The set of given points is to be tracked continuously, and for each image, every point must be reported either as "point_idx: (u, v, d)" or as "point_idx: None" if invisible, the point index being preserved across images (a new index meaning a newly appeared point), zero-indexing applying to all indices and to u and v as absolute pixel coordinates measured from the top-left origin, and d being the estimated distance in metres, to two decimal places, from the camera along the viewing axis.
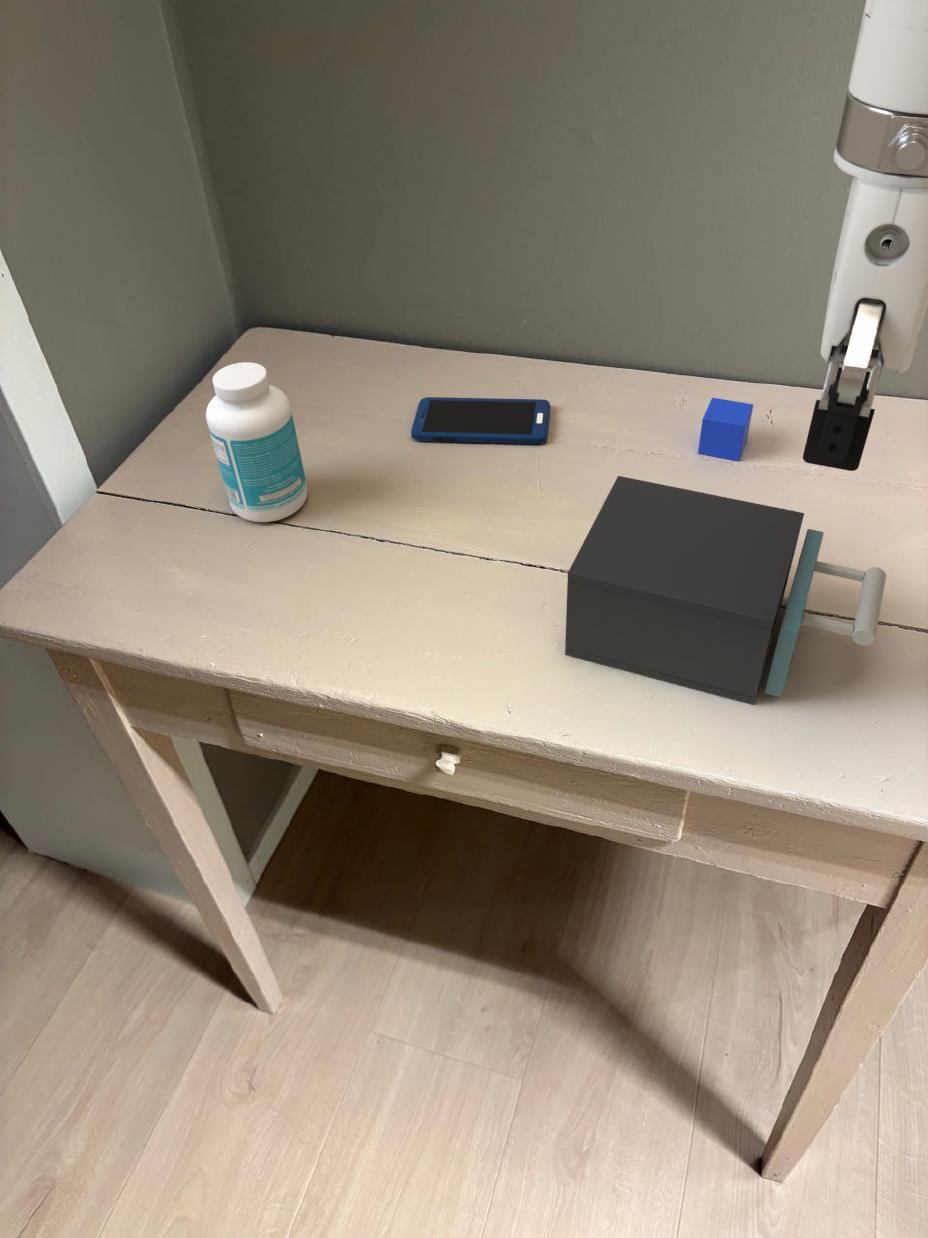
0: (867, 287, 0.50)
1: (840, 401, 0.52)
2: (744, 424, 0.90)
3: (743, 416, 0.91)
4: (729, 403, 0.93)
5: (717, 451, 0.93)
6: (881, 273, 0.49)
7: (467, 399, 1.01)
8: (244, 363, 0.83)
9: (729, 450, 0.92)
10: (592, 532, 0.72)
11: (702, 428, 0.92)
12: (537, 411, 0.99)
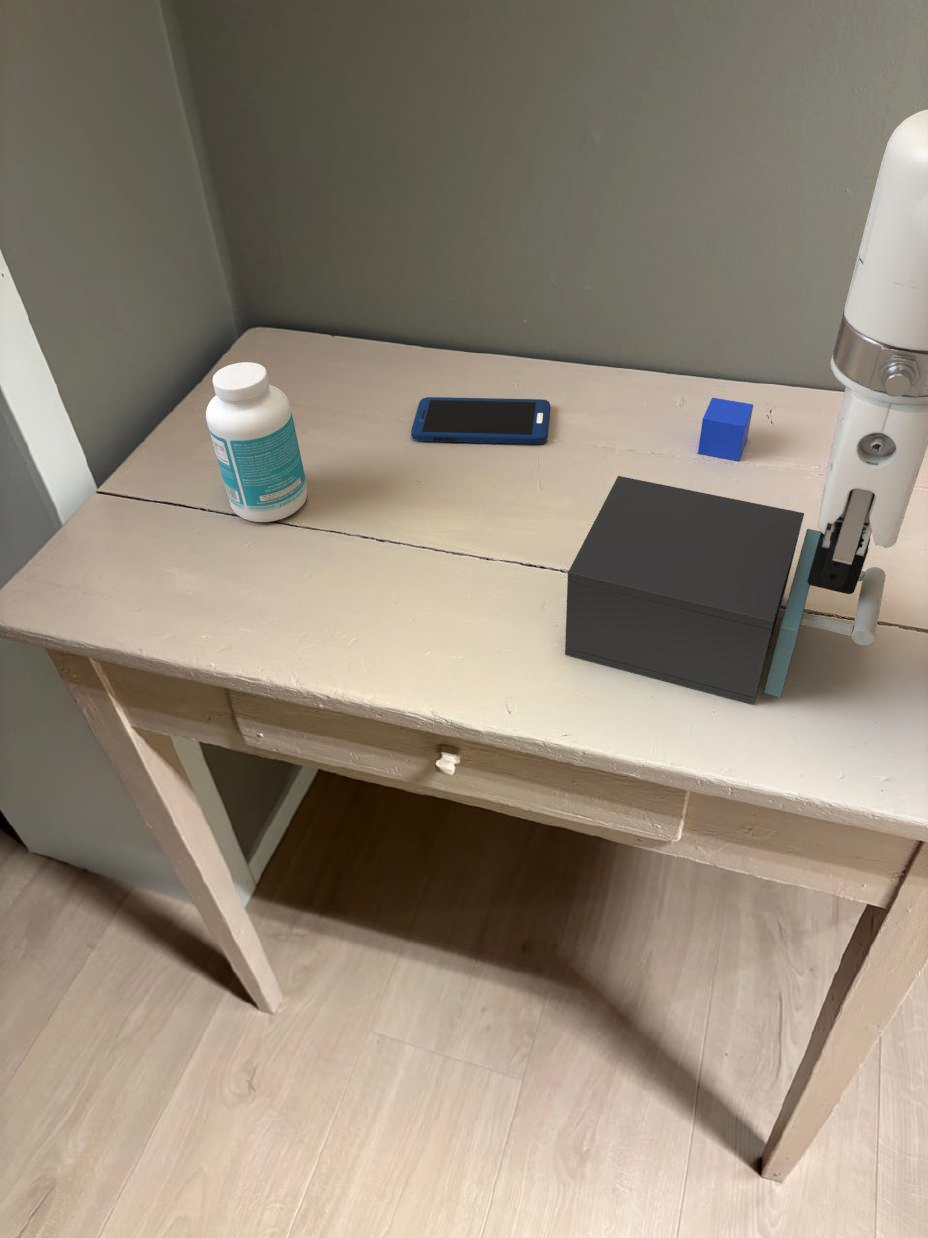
0: (859, 480, 0.57)
1: None
2: (744, 424, 0.90)
3: (743, 416, 0.91)
4: (729, 403, 0.93)
5: (717, 451, 0.93)
6: (871, 471, 0.56)
7: (467, 399, 1.01)
8: (244, 363, 0.83)
9: (729, 450, 0.92)
10: (592, 532, 0.72)
11: (702, 428, 0.92)
12: (537, 411, 0.99)
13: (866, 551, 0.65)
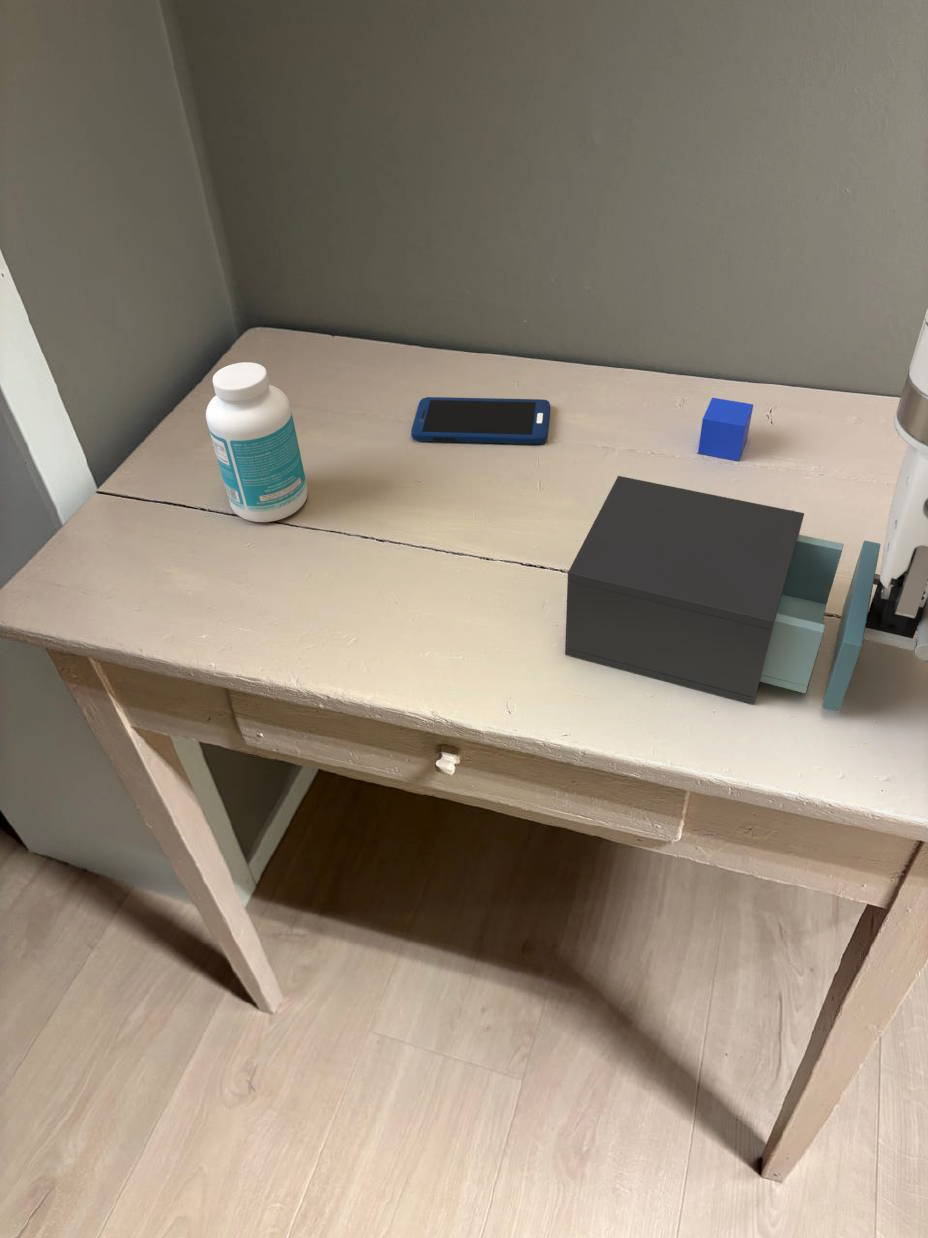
0: (924, 538, 0.57)
1: None
2: (744, 424, 0.90)
3: (743, 416, 0.91)
4: (729, 403, 0.93)
5: (717, 451, 0.93)
6: None
7: (467, 399, 1.01)
8: (244, 363, 0.83)
9: (729, 450, 0.92)
10: (592, 532, 0.72)
11: (702, 428, 0.92)
12: (537, 411, 0.99)
13: (925, 602, 0.65)
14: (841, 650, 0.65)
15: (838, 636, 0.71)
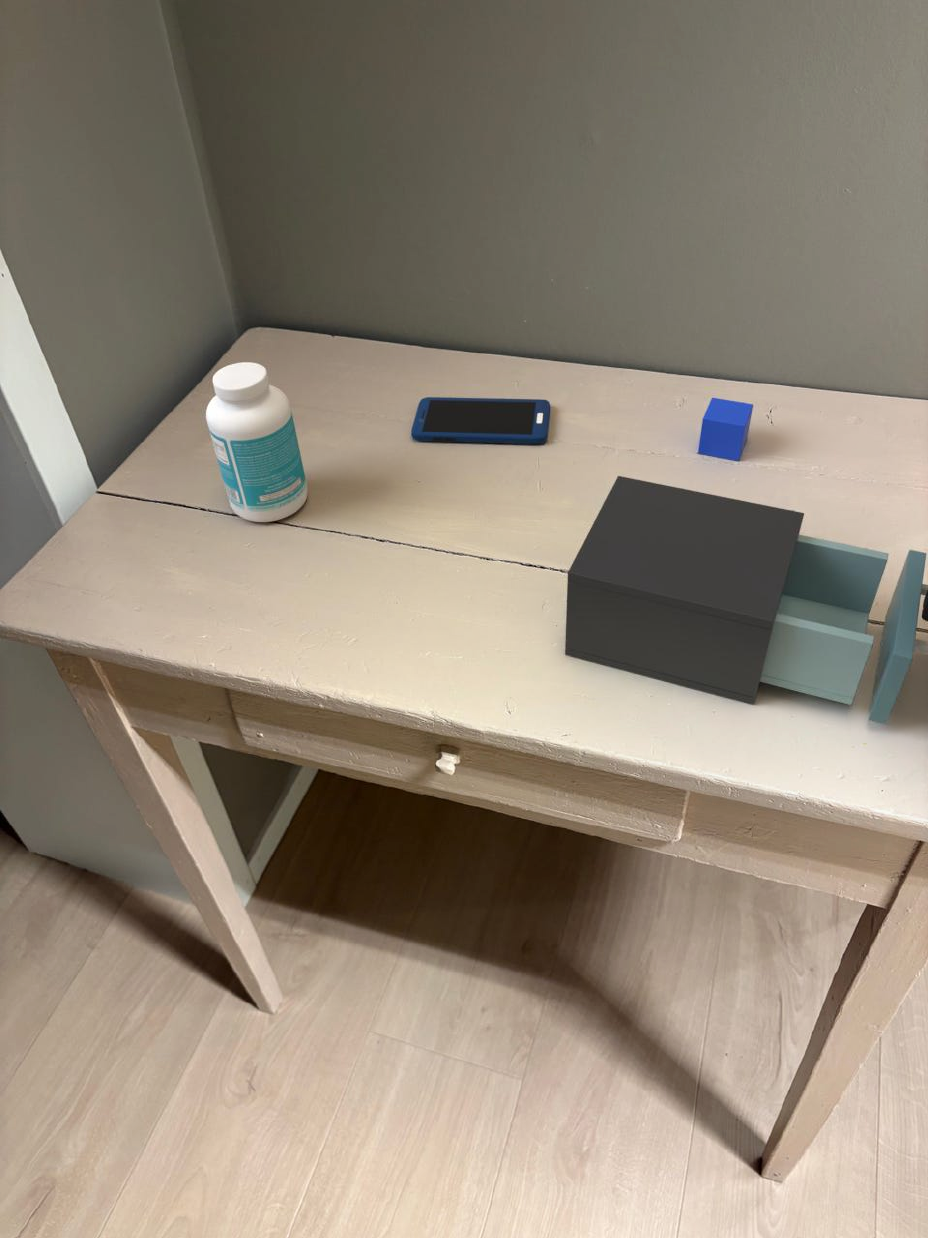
0: None
1: None
2: (744, 424, 0.90)
3: (743, 416, 0.91)
4: (729, 403, 0.93)
5: (717, 451, 0.93)
6: None
7: (467, 399, 1.01)
8: (244, 363, 0.83)
9: (729, 450, 0.92)
10: (592, 532, 0.72)
11: (702, 428, 0.92)
12: (537, 411, 0.99)
13: None
14: (891, 662, 0.64)
15: (883, 647, 0.70)
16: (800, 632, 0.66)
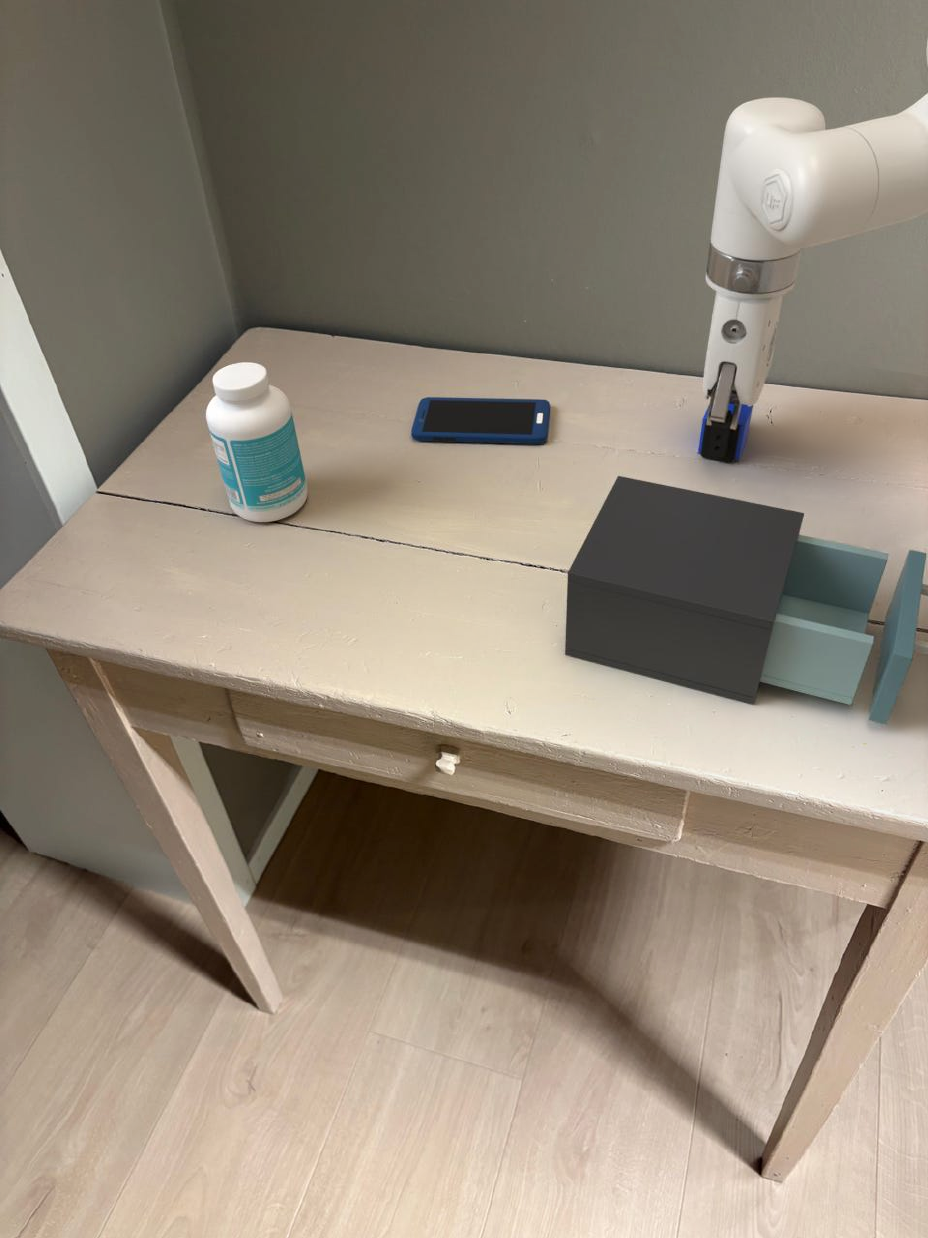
0: (724, 355, 0.83)
1: None
2: (744, 424, 0.90)
3: (743, 416, 0.91)
4: None
5: None
6: (732, 347, 0.82)
7: (467, 399, 1.01)
8: (244, 363, 0.83)
9: None
10: (592, 532, 0.72)
11: (702, 428, 0.92)
12: (537, 411, 0.99)
13: (738, 427, 0.89)
14: (891, 662, 0.64)
15: (883, 647, 0.70)
16: (800, 632, 0.66)
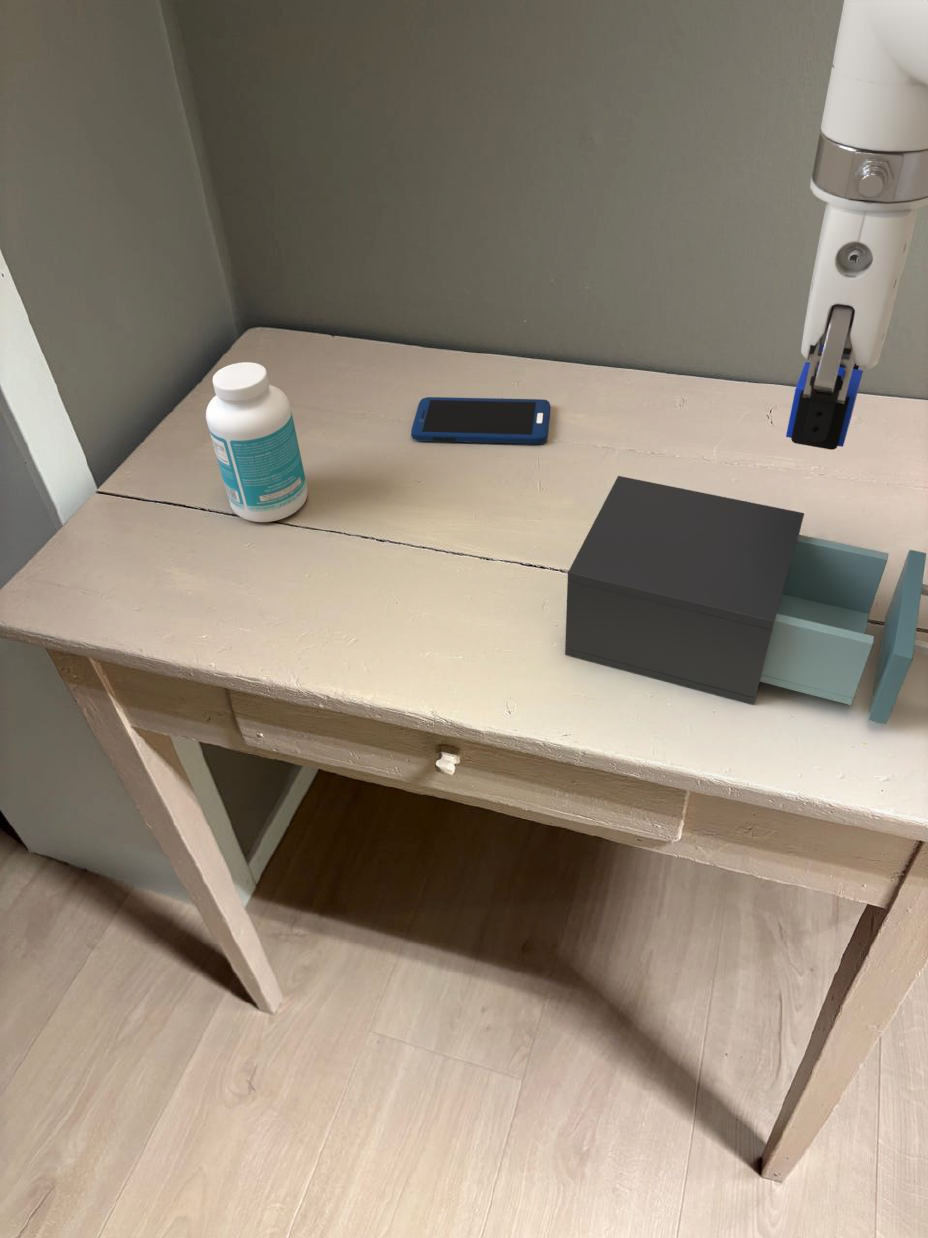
0: (838, 295, 0.59)
1: (819, 391, 0.63)
2: (854, 396, 0.66)
3: (851, 386, 0.67)
4: None
5: None
6: (850, 283, 0.58)
7: (467, 399, 1.01)
8: (244, 363, 0.83)
9: None
10: (592, 532, 0.72)
11: (794, 402, 0.68)
12: (537, 411, 0.99)
13: (847, 400, 0.65)
14: (891, 662, 0.64)
15: (883, 647, 0.70)
16: (800, 632, 0.66)
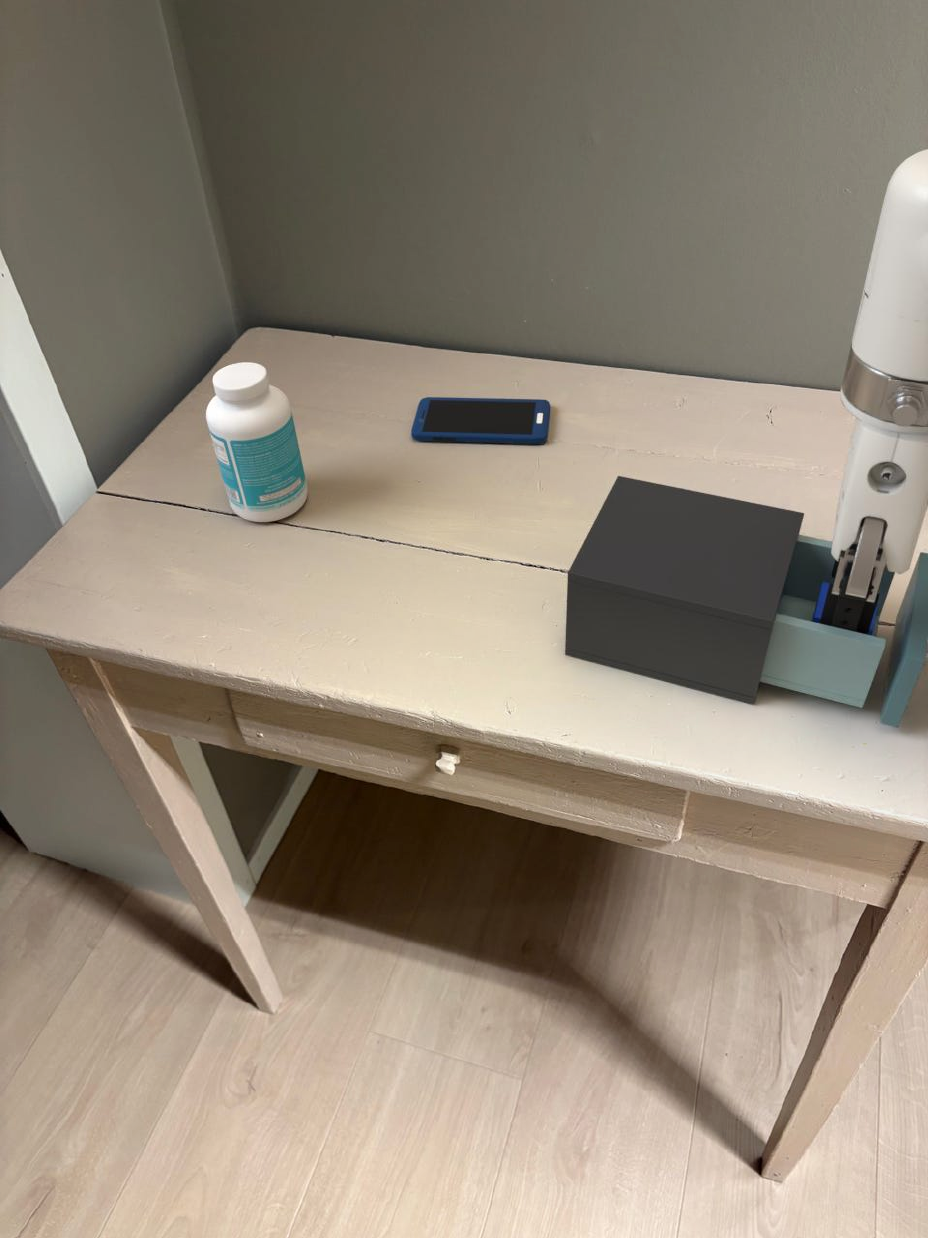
0: (870, 508, 0.58)
1: None
2: (871, 628, 0.67)
3: None
4: None
5: None
6: (882, 499, 0.57)
7: (467, 399, 1.01)
8: (244, 363, 0.83)
9: None
10: (592, 532, 0.72)
11: None
12: (537, 411, 0.99)
13: (877, 597, 0.64)
14: (903, 665, 0.63)
15: (894, 649, 0.70)
16: (812, 635, 0.66)
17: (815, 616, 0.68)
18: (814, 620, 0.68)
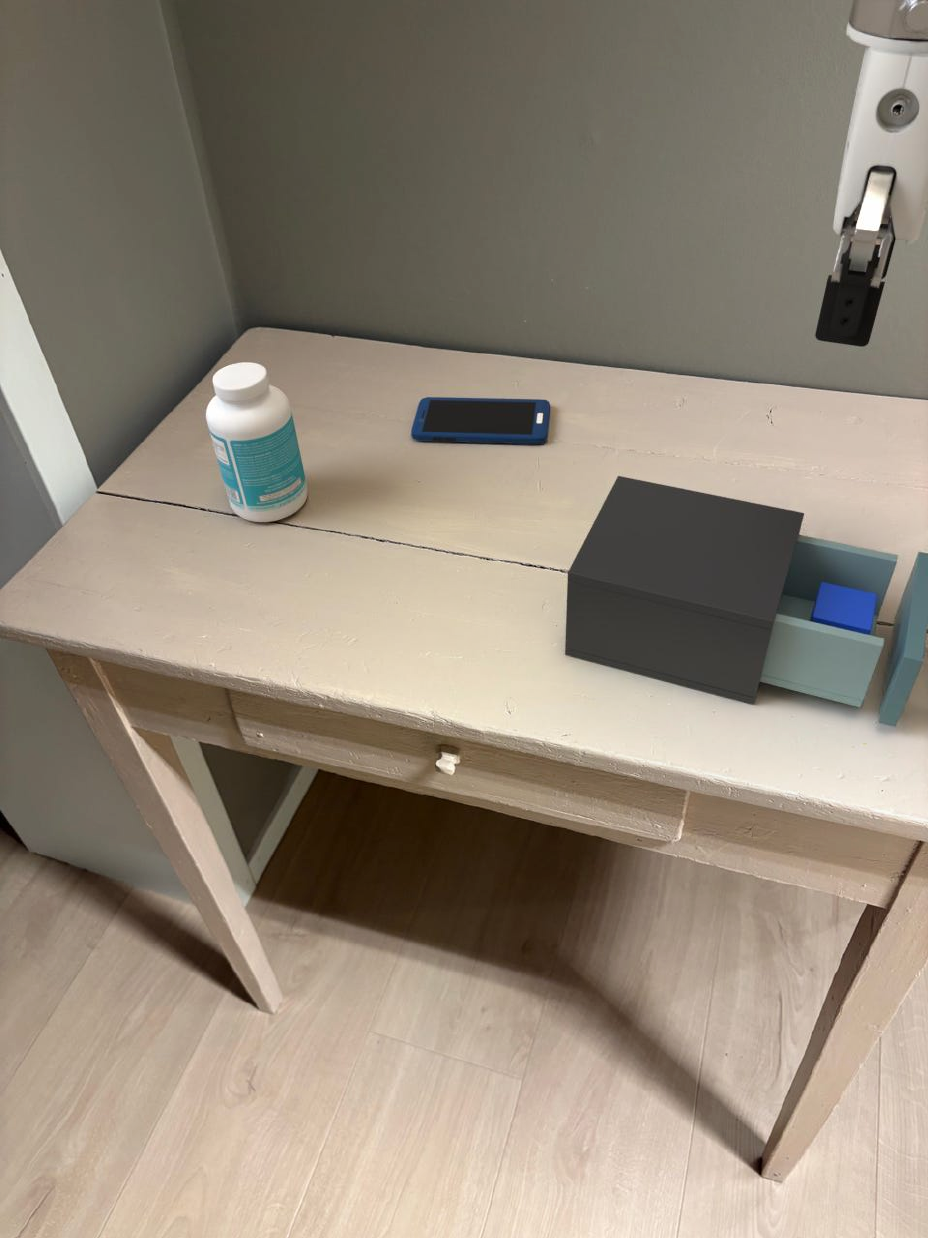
0: (878, 154, 0.52)
1: (852, 268, 0.54)
2: (869, 627, 0.67)
3: (867, 615, 0.68)
4: (844, 591, 0.70)
5: None
6: (892, 139, 0.51)
7: (467, 399, 1.01)
8: (244, 363, 0.83)
9: None
10: (592, 532, 0.72)
11: None
12: (537, 411, 0.99)
13: (882, 285, 0.56)
14: (901, 665, 0.63)
15: (892, 649, 0.70)
16: (810, 634, 0.66)
17: (813, 616, 0.68)
18: (812, 620, 0.69)
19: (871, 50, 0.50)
